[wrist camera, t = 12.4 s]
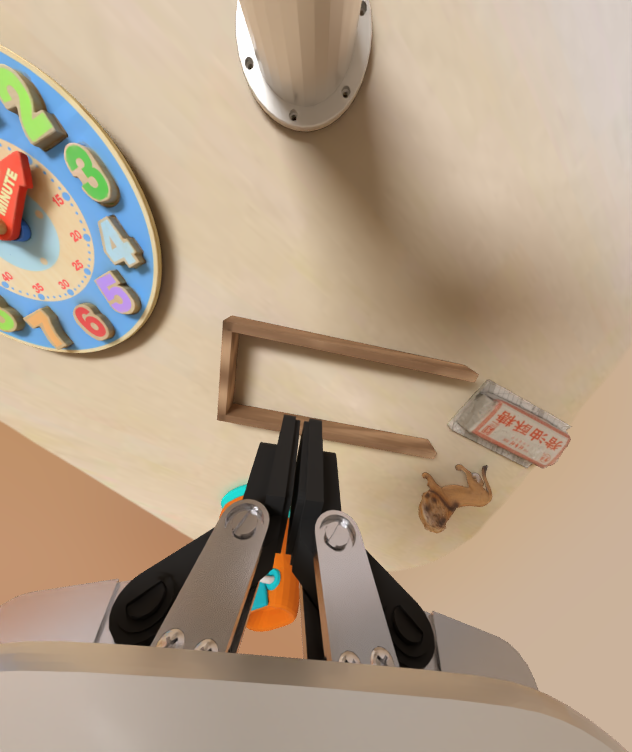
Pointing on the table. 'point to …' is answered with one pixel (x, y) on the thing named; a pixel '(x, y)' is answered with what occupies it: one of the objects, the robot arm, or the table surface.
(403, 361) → the open-ended wooden frame
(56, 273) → the shape sorting clock
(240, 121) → the table surface
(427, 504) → the lion figurine
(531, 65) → the table surface
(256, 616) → the toy shoe
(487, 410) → the packaged product
